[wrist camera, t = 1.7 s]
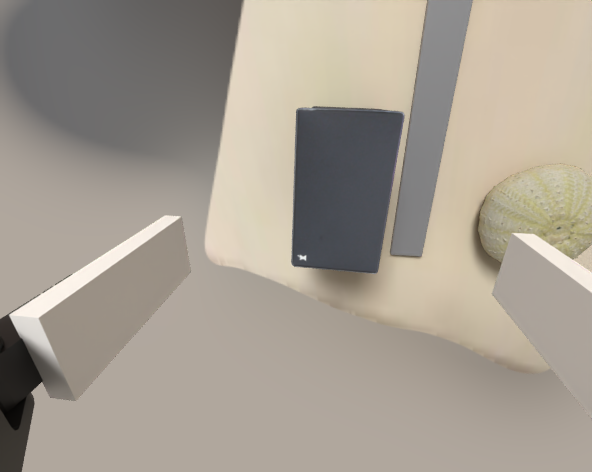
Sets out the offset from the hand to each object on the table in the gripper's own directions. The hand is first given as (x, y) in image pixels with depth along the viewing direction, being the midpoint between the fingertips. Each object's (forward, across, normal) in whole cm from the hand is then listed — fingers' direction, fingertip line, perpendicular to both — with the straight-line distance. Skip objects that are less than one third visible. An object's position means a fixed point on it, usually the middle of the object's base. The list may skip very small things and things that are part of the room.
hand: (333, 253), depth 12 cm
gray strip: (+17, +7, +3) cm, 19 cm away
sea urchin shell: (+17, +17, -3) cm, 25 cm away
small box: (+18, 0, 0) cm, 18 cm away
